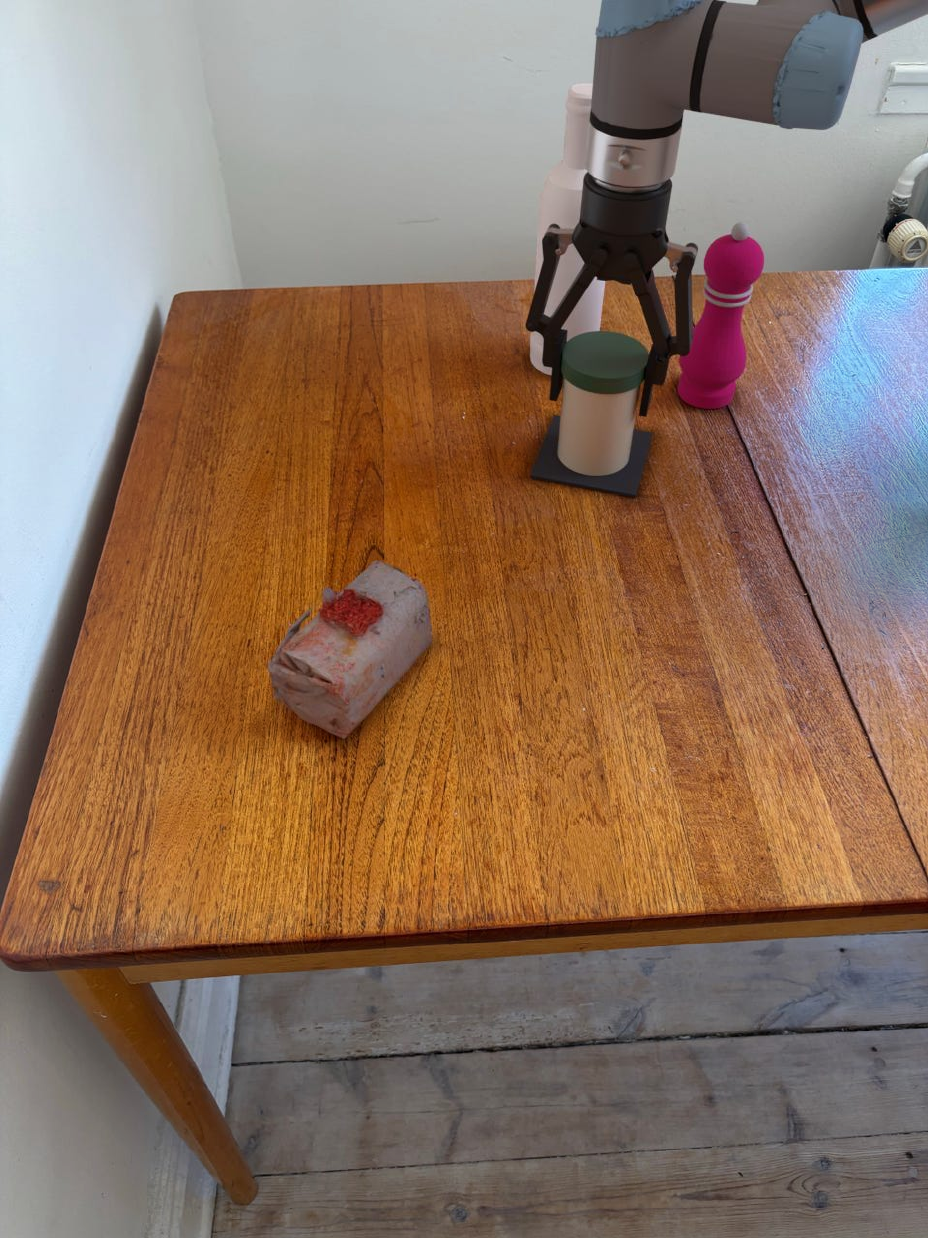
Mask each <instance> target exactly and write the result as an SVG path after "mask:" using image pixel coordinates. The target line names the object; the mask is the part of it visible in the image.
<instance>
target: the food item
mask: <svg viewBox="0 0 928 1238" xmlns="http://www.w3.org/2000/svg"><path fill="white" fill-rule="evenodd" d="M321 595H322V599H321V601H320V602H321V603H322V607H321V608H318V609H317V611H318V612H317V613H316V614H315V615H314V616H313V617H312V619H311V620H310V621H309V622H308V623H307V624H305V625H304V626H303V627H302V628H301V626H302V623H303V622H304V621H305V620H306V619H308V618H309V617H310V614H311V610H312V609H313V608H314V606H315V604H314V605H312V606H310V607H309V608H308V609H307V610H306V611H305V612H304V613H303V614H302V615H301V616H300V617H299V618H298V619H297V620H296V621H294V623H293V624H292V625H291V626H290V627H288V630H287V632H286V634H285V636H284V638H283V640H282V641H281V643H280V644H279V645H278V647H277V648H276V651H275V653H274V656H273V658H269V662H268V665H267V670H268V673H269V676H270V681H271V686H273V692H272V693H273V698H274V699H275V701H278V702H280V703H282V704H283V705H284V706H285V707H286V708H287V709H288V710H291V711H292V712H293V713H295V715H297V717H298V718H300V719H301V720H303V721H304V722H306V723H308V724H311V725H315V726H316V727H318V728H320V729H322V730H324V731H325V732H327V733H329V734H332V735H334V736H336V737H339V738H341V739H343V740H344V739H346V738H348V736H349V735H350V734H351V733H352V732H353V731H354V730H355V729H356V728H357V727H358V726H359V725H360V724H361V723H362V722H363V721H364V720H365V719H366V718H367V716H369V715H370V713H371V712H372V711H373V710H374V709H375V708H376V706H377V705H378V704H379V703H380V702H381V700H382V699H383V698H384V697H385V696H386V695H387V694H388V693H389V691H390V690H391V689H392V688H393V687H395V686H396V684H397V683H398V682H400V680H401V679H402V678H403V677H404V675H406V673H407V672H408V671H409V670H410V669H411V668H412V666H413V665H414V664H415V663H416V661H418V660H419V658H420V657H421V655H423V654H424V653H425V651H426V650H427V649H428V648H429V647H430V646H431V645H432V643H433V642H434V638H432V632H433V628H432V621H431V619H432V618H431V609H430V605H429V597H428V596H429V595H428V593H427V590H426V587H425V585H424V584H423V583H422V582H421V581H420V580H419V578H413V577H410V576H409V575H408V574H407V573H405V572H404V571H403V570H401V569H400V568H398V567H396V566H393V565H391V564H388V563H387V562H385V561H381V560H373V561H372V562H371V563H370V565H369V566H368V567H367V568H366V569H364V570H363V571H362V572H361V573H359V575H357V576H356V577H355V578H354V579H353V580H352V581H350V583H348V584H347V585H346V586H345V587H344V588H343V589H342V590H341V591H340V592H339V591H338V590H333V589H332V588H331V587H328V586H325V587H324V589H323V590H322V593H321ZM300 628H301V629H300Z"/></svg>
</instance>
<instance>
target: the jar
mask: <svg viewBox="0 0 928 1238" xmlns="http://www.w3.org/2000/svg"><path fill="white" fill-rule="evenodd" d="M641 387H642V384H641V385H640V386H638V387H637V388H635V389H633V390H630V391H628V392H624V393H619V394H597V393H592V392H588V391H584V390H582V389H579V388H577V387H575V386H574V385H572V384H571V383H569V382H568V381H567V380H566V379H565V377H563V386H562V394H561V404H560V405H561V406H560V414H559V416H560V426H559V437H558V448H557V453H558V457H559V459H560V461H561V462H562V463H563V464H564V465H565V466H566V467H568V468H569V469H571V470H573V471H575V472H577V473H580V474H584V475H590V476H603V475H609V474H613V473H615V472H618V471H619V470H621V469H622V468H624V467H625V466H626V464H627V463H628V461H629V457H630V451H631V444H632V438H633V432H634V429H635V424H636V418H637V410H638V406H639V399H640V392H641Z"/></svg>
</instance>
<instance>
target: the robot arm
mask: <svg viewBox="0 0 928 1238" xmlns="http://www.w3.org/2000/svg"><path fill="white" fill-rule="evenodd" d="M927 15H928V0H757V2H756V3H755V4H750V3H742V2H741V3H740V2H729V1H726V0H601V3H600V10H599V16H598V17H599V18H598V22H597V26H596V28H595V32H594V35H595V37H596V38H595V52H594V64H593V77H592V84H593V88H592V101H591V111H590V119H589V127H588V137H587V147H586V156H585V168H586V170H587V171H588V172H587V173H586V174H585V176H584V178H583V189H582V199H581V210H580V219H579V223H578V224H577V226H576V227H575V229H560V227H559V225H557V224H551V225H550V226H549V227H548V229H547V231H546V233H545V235H544V237H543V239H542V249H543V264H542V267H541V271H540V274H539V278H538V281H537V285H536V289H535V292H534V291H533V296H532V300H531V302H530V303H531V304H530V307H529V310H528V314H527V317H526V321H525V324H524V325H525V329H526V331H528V332H530V333H531V332H535V331H536V332H538V333H540V334H541V335H542V336H543V339H544V343H543V357H542V363H543V366H545V367H551V368H552V374H551V375H550V387H549V399H548V400H549V401H552V402H558V399H559V397H560V394H561V391H562V390H563V382H564V377H563V374H562V372H561V360H562V350H563V348H564V345H565V344H566V342H567V332H568V330H564V329H561V328H562V326H563V325H564V323H565V322H566V320H567V319H568V317H569V315H570V314H571V312H572V311H573V309H574V308H575V306H576V305H577V303H578V302H579V300H580V298H581V297H582V295H583V294H584V292H585V291H586V289H587V288H588V287H589V285H590V284H591V282H592V281H593V279H594V278H595V277H597V280H600V281H605V282H611V281H614V282H617V283H619V284H622V285H628V286H632V290H633V293H634V295H635V297H636V298H637V299H638V302H639V305H640V308H641V310H642V311H641V312H642V314H643V317H644V320H645V323H646V326H647V330H648V332H649V335H650V339H651V342H652V344H651V346H650V350H649V352H648V354H649V356H648V361H647V367H646V373H645V379H644V381H643V385H642V391H641V399H640V405H639V410H638V417H644V418H646V417H647V416H648V413H649V409H650V405H651V402H652V401H651V400H652V394H653V389H654V386H661V387H663V386H664V384H665V382H666V379H667V375H668V370H669V365H670V359H671V357H673V356H677V355H679V356H686V355H688V354H689V352H690V349H691V345H692V340H693V329H694V312H693V311H694V310H693V273H692V272H693V270H694V269H693V268H694V266H695V263H696V259H697V256H698V252H699V247H698V245H697V244H696V243H694V242H688V243H687V244H685V245H681V244H678V243H675V242H671V241H670V238H669V236H668V233H667V221H668V214H669V208H670V204H671V203H670V202H671V196H672V190H673V182H672V179H671V178H672V177H673V176H674V174H675V171H676V166H677V159H678V152H679V146H680V141H681V135H682V128H683V121H684V112H685V111H691V112H695V113H700V114H702V113H703V114H707V115H715V116H719V117H726V118H730V119H739V120H742V121H743V120H744V121H748V122H755V123H761V124H767V125H771V126H772V125H773V126H777V127H778V126H779V128H782V129H785V130H793V129H800V130H801V129H802V130H814V131H815V130H816V131H826V130H828V129H831V128H833V127H834V126H835V125H836V124H837V123H838V122H839V120H840V119H841V117H842V114H843V111H844V108H845V105H846V101H847V99H848V95H849V91H850V89H851V85H852V83H853V78H854V74H855V71H856V66H857V63H858V59H859V56H860V51H861V48H862V44H864V43H866V42H868V41H871V40H874V39H875V38H878V37H879V36H881V35H883V34H886V33H888V32H890V31H892V30H895V29H897V28H899V27H902V26H904V25H906V24H908V23H911V22H914V21H915V20H918V19H920V18H923V17H924V16H927ZM570 244H574V246H575V248H576V250H577V251H578V253H579V255H580V256H581V258H582V260H583V262H584V265H583V267H582V268H581V270H580V272H579V273H578V275H577V277H576V278H575V280H574V281H573V283H572V284H571V286H570V288H569V289H568V291H567V292H566V294H565V296H564V297H563V299H562V300H561V302H560V304H559V305H558V307H557V308H556V310H555V312H554V313H553V315H552V316H551V317H549V316H547V315H545V314H544V311H545V308H546V304H547V301H548V297H549V294H550V291H551V287H552V284H553V280H554V277H555V274H556V270H557V267H558V263H559V260H560V256H561V255H563V254H565V252H566V250H567V248H568V245H570ZM663 258H666V259H668V263H669V269H670V270H671V272H673V273H675V277H674V284H673V285H674V310H675V311H674V314H675V335H672V331H671V327H670V326H669V322H668V319H667V316H666V313H665V309H664V306H663V303H662V299H661V296H660V294H659V290H658V287H657V284H656V280H655V272H654V269H653V268H654V267H655V266H656V265H657V264H658V263H659V262H660V261H661V260H662V259H663Z"/></svg>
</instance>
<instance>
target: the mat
mask: <svg viewBox="0 0 928 1238" xmlns="http://www.w3.org/2000/svg"><path fill="white" fill-rule="evenodd" d="M559 426H560V415H559V414H553V415H552V418H551V420H550V423H549V426H548V428H547V430H546V433H545V437H544V438H543V441H542V444H541V446H540V449H539V451H538V454H537V456H536V459H535V462H534V464H533V466H532V469H531V471H530V474H529V478H530V479H534V480H539V481H545V482H548V483H549V482H550V483H555V484H560V485H564V486H571V487H576V488H581V489H586V490H592V491H597V492H601V493H608V494H611V495H617V496H623V497H628V498H633V499H636V497H637V494H638V491H639V487H640V483H641V480H642V476H643V472H644V469H645V464H646V462H647V461H646V460H647V457H648V453H649V450H650V446H651V442H652V439H653V435H654V432H653V431H648V430H642V429H636V428H634V432H633V438H632V444H631V451H630V457H629V461H628V463H627V464H626V466H625V467H624V468H622V469H621V470H619V471H618V472H615V473H613V474H609V475H603V476H590V475H584V474H580V473H577V472H575V471H573V470H571V469H569V468H568V467H566V466H565V465H564V464H563V463H562V462H561V461H560V459H559V457H558V453H557V448H558V437H559Z"/></svg>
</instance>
